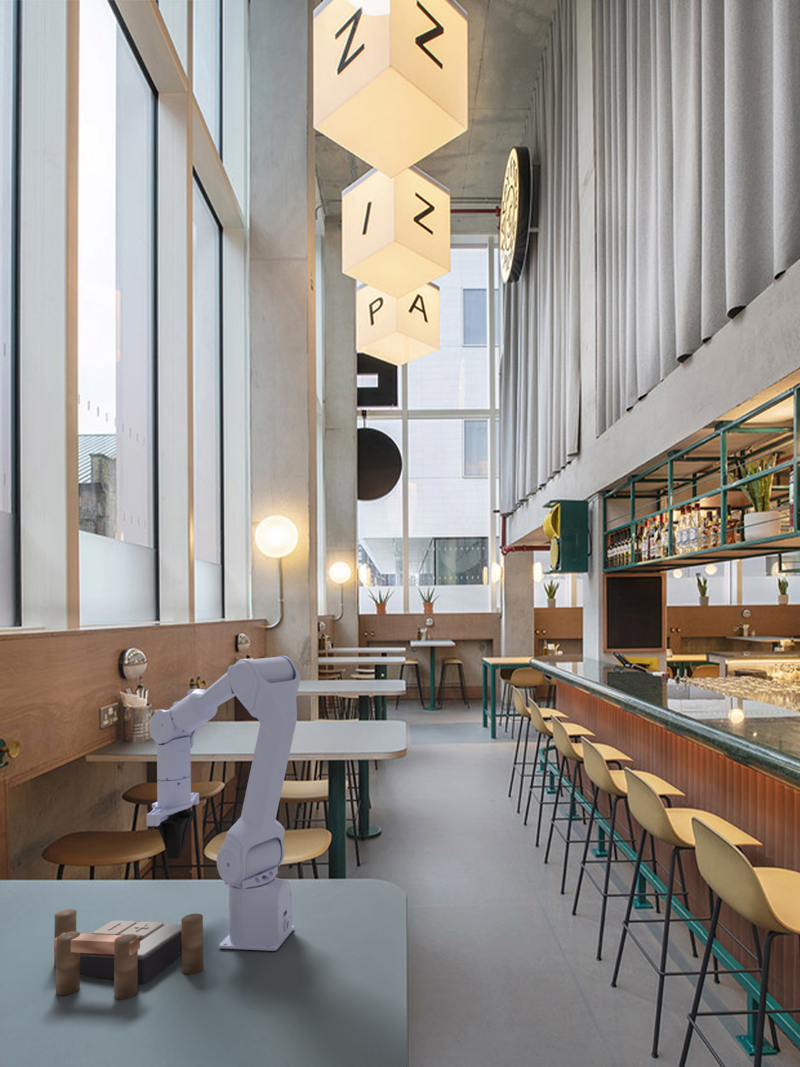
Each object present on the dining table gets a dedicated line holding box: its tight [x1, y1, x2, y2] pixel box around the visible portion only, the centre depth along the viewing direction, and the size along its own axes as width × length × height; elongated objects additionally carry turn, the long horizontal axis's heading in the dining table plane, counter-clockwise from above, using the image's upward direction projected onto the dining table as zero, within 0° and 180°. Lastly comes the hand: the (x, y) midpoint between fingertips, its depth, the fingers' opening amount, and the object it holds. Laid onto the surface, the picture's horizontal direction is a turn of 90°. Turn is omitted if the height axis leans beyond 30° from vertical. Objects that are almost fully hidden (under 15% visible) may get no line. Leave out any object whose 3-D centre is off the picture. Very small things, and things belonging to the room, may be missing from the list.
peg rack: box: [53, 908, 204, 1000], centre depth 99 cm, size 24×10×7 cm, turn 79°
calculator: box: [80, 919, 182, 985], centre depth 104 cm, size 11×4×15 cm
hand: (174, 857), depth 121 cm, fingers closed
